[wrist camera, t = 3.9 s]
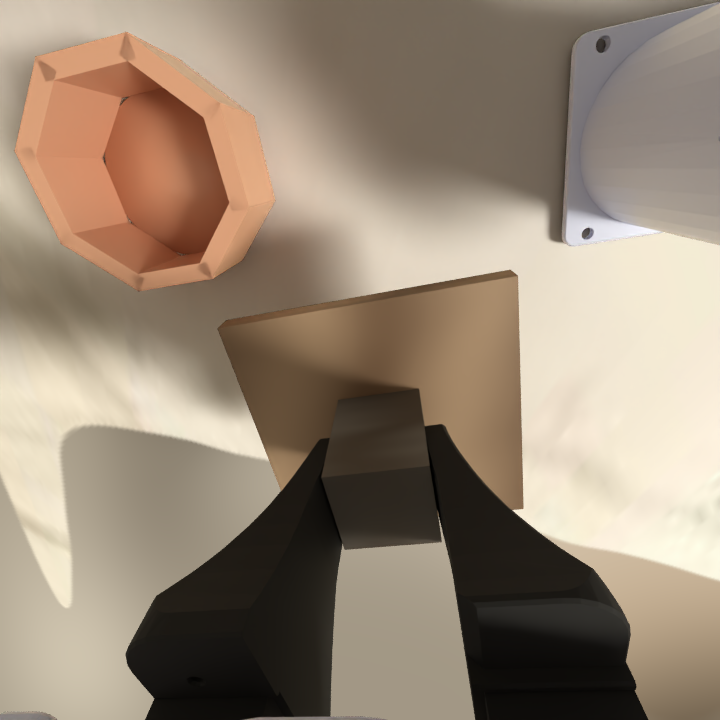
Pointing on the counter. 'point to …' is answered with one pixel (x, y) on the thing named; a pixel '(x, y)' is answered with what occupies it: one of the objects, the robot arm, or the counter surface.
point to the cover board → (387, 359)
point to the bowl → (142, 162)
